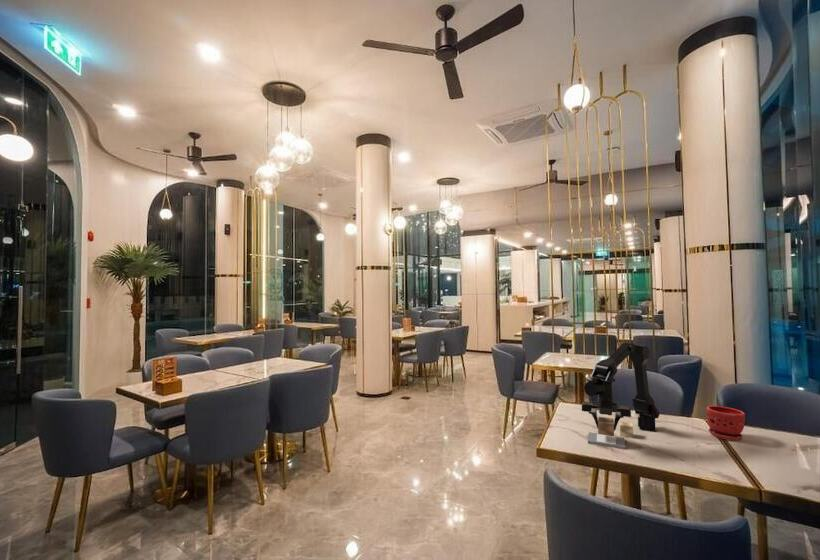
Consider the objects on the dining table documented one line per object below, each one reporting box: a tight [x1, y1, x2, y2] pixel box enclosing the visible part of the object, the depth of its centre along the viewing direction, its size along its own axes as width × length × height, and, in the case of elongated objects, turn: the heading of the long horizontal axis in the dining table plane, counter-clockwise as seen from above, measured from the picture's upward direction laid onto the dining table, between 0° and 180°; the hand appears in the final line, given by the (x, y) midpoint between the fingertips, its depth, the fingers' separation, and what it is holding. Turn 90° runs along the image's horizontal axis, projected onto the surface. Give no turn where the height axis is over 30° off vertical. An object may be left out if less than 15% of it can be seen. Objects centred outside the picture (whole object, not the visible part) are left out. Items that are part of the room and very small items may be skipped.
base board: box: [587, 431, 626, 450], centre depth 166 cm, size 14×11×1 cm
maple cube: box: [619, 421, 634, 439], centre depth 173 cm, size 5×5×5 cm
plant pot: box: [706, 405, 746, 441], centre depth 170 cm, size 13×13×12 cm
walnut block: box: [597, 416, 615, 436], centre depth 166 cm, size 6×8×5 cm
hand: (606, 429), depth 166 cm, fingers closed on walnut block, 6 cm apart
